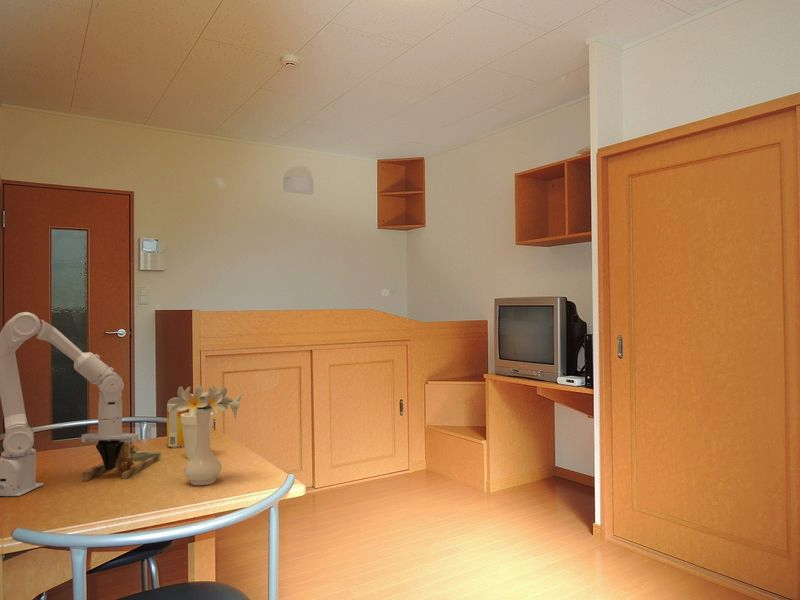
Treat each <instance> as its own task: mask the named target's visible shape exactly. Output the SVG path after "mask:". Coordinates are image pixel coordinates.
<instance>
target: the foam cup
mask: <svg viewBox="0 0 800 600" xmlns="http://www.w3.org/2000/svg"><path fill="white" fill-rule="evenodd" d="M213 412H214V411H213ZM213 412H212V411H211V415H210V421H209V439H210V440H211V437H212V432H213V431H212V430H213V423H214V422H215V421H214V418H215V417H214V414H215V412H214V413H213ZM181 424H182V430H183V438H184V453H185V457H187V458H192V456H193V454H194V452H195V449H196V443H197V419H196V415H195V416H194V417H190V415H189V411H187V413H183V414H181ZM187 458H186V459H187Z"/></svg>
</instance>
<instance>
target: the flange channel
mask: <svg viewBox="0 0 800 600" xmlns="http://www.w3.org/2000/svg"><path fill="white" fill-rule="evenodd" d="M161 457H162V451H161V452H159V451H158V452H157V451H149V450H138V451H136V454H135V455H134V454H133V458H132V461H133V462H140V461H141V462H140V463H137V464H136V465H134V466H132V467H131V468H130V469H128V470H127V469H126V470H124V471H122V472H121V480H127V479H129V478H130V477H132V476H134V475H136V474H137V473H139V472H141V471H144V470H145V469H147V468H148V467H150V466H152V465H154V464H155V463H157V462H159V461H161V460H162V458H161ZM124 463H125V462H123V463H122V464H124ZM117 466H118V465H117V460H116V464H115V468H117ZM108 471H109V470H105V466H104V463H103V462H101V463H99V464H97V465H95V466H93V467H91V468H89V469H87V470H85V471H83V472H81V474H82V476H81V480H82V482H89V481H91V480H92V479H95V478H97V477H99V476H101V475H102V474H104V473H106V472H108ZM88 480H89V481H88Z"/></svg>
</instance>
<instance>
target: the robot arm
mask: <svg viewBox="0 0 800 600" xmlns="http://www.w3.org/2000/svg"><path fill="white" fill-rule="evenodd" d="M35 335H36V336H35ZM33 336H35V337H36V340H37V339H38V340H41V341H46V342H49V343H50V344H51V345H53V346H54V347H56V348H57V349H58V350H59V352H62V353H63V354H64V355H65V356H67V357H68V358H70V359H71V360H72V361H73V369H74V370H75V371H76V372H78V373H79V374H80V375H81V376H82V377H84V378H85V379H86V380H87V381H88V382H89V383H91V384H92V385H96V386H97V389H98V390H99V392H98V393H99V395H98V397H99V400H98V403H97V404H98V409H97V410H98V413H97V414H98V415H97V417H98V419H97V421H98V423H97V426H98V428H97V429H98V430H97V431H98V432H96V433H95V432H93V433H84V434H81V443H88V442H89V443H90V442H91V443H97V444H95V448H96V450H97V451H98V453H99V455H100V457H101V460H102V463H104V466H105V470H108V471H112V470H114V469H115V468H116V467H115V464H116V460H117V457H118V454H119V452H120V450H121V448H122V446H123V444H124V442H132V443H137V442H138V441H139V440H140V439H139V437H140V436H139V433H132V432H131V433H130V432H123V399H122V396H123V394H122V393H123V392H122V391H123V390H124V388H125V384H124V381H123V378H122V377H121V376H120V375H119V374H118V373H117V372H115V371H114V367H111V366H110V367H109V365H107V364H106V363H104V361H102V360H101V359H100V358H101V356H100V355H98V354H97V353H95V354H94V353H93V352H90V351H89V352H83V351H82V350H81V349H80V348H79V347H78V346H76V345H75V344H74V343H73V342H72V341H71V340H69V338H67V337H66V336H65V335H64V334H63V333H62V332H61V331H60V330H58V329H57V328H56V327H55V326H53V325H52V324H50V323H48V322H46V321H44V319H39V317H38V316H37V315H36V314H34V313H33V312H28V311H25V312H24V311H23V312H19V313H16V314H15V315H14V316H13V317H11V318H9V320H8V321H7V322H6V323H4V325H3V327H2V329H1V331H0V402H1V408H2V412H3V420H4V429H5V430H4V431H5V434H4V439H3V442H2V446H3V447H2V448H3V449H4V450H3V451H1V452H0V453H1V456H0V497H20V496H22V495H24V494H27V493H29V492H31V491H33V490H36V489H38V488H39V487H42V486H44V483H43V482H36V475H37V473H36V472H37V469H36V468H37V467H36V466H37V463H36V461H37V460H36V459H37V456H36V455H37V449H35V448H33V447H34V444H35V443H34V442H35V438H34V436H35V432H34V430H33V429H32V427H31V426H30V425H29V423H28V419H27V414H26V408H25V402H24V397H23V391H22V390H23V389H22V386H21V385H22V384H21V379H20V374H19V367H18V362H17V361H18V360H17V357H16V351H17V350H18V349H19V347H21V346H22V345H23V344H24V342H25V341H27V340H29V339H30V338H32V337H33Z"/></svg>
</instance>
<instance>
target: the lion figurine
mask: <svg viewBox="0 0 800 600" xmlns="http://www.w3.org/2000/svg"><path fill="white" fill-rule="evenodd" d="M136 451H139V448H138V447H137V446H135V444H134V443H133V442H124V444H123V446H122V448H121V450H120V452H119V454H118V457H117V465H118V466H116V468H117V470H116V473H117V474H122V473H123V464H124V463H127V465H126V470H128V469H130V468H132V467H131V465H133V464H134V461H132V458H133V454H134V455H135V454H136ZM123 462H124V463H123Z"/></svg>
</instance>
